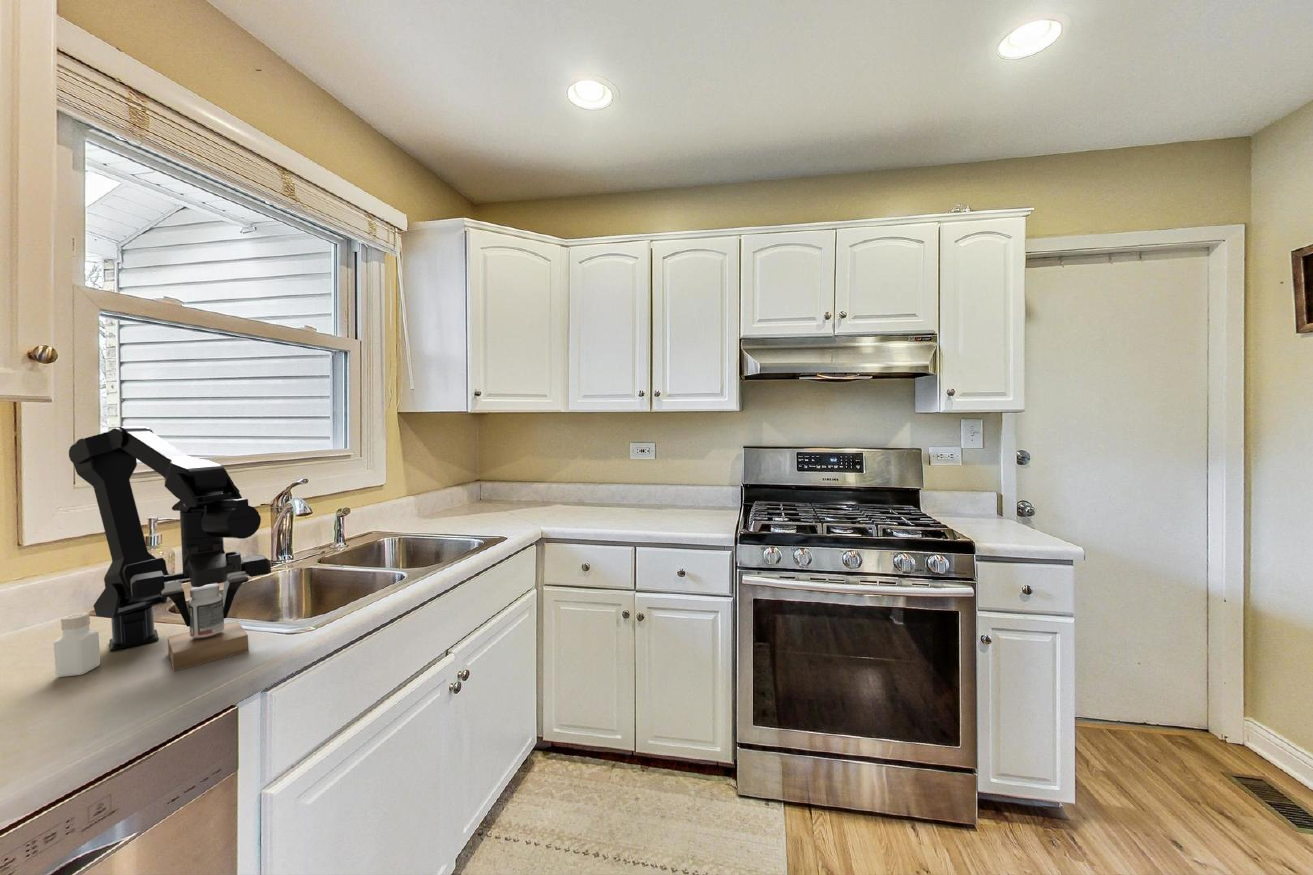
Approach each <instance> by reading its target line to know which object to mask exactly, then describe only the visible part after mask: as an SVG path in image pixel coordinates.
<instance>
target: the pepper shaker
mask: <svg viewBox="0 0 1313 875" xmlns="http://www.w3.org/2000/svg"><path fill="white" fill-rule="evenodd" d="M90 620H91V618H90V613H89V612H77V613H72V614H68V615H65V616H62V617H61V618H60V622H61V624H60V625H61V631H62V636H59V637H58V638H57V639H55V641H53V653H54V667H55V668H54V669H55V676H56V677H57V678H62V677H63V678H64V677H73V676H74V677H75V676H81V675H85V674H87V673H88V672H90V671H92V670H94V669H96V668H97V667H99V666H100V664H101V651H100V648H101V647H100V634H99V631H97V630H92V629H90V624H91V621H90Z"/></svg>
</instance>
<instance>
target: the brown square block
mask: <svg viewBox="0 0 1313 875" xmlns="http://www.w3.org/2000/svg"><path fill="white" fill-rule="evenodd" d="M167 647H168V648H167V650H168V655H169V659H170V662H171V666H172V670H173V671H174V672H176V671H180V670H183V669H187V668H191V667H195V666H200V665H203V664H206V663H210V662H214V661H218V660H222V659H225V658H229V657H233V656H237V655H241V654H244V653H249V650H250V649H249V635H248V634H247V632H246V631H245V629H244V628H243V627H242V625H241V624H240V622H239V620H237V621H232V622H228V623H224V630H223V631H222V632H220V633H218V634H215V635H212V636H208V637H203V638H193V637H191V636H190V631H189V632H184V633H178V634H175V635H172V636H167Z"/></svg>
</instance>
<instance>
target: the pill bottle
mask: <svg viewBox="0 0 1313 875" xmlns="http://www.w3.org/2000/svg"><path fill="white" fill-rule="evenodd" d="M189 597H190V600H188V604H187V608H188V613H189V617H190V626H189V632H190V636H191V637H193V638H203V637H208V636H212V635H215V634H218V633H220V632H222V631H223V630H224V624H225V620H224V614H223V594H220V585H219V584H218V583H213V584H208V585H204V586H202V587H192V588H190V589H189Z"/></svg>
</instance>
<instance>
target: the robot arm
mask: <svg viewBox="0 0 1313 875" xmlns="http://www.w3.org/2000/svg"><path fill="white" fill-rule="evenodd" d="M68 458H69V461H70V462H71V463H72V464H73V467H74V470H75V471H76V474H77V476H79V478H81V479H83V480H84V481H85V482H87V483H88V484H90V486H92V488H93V490H94V495H95V498H96V502H97V506H98V510H99V513H100V517H101V523H102V526H103V530H104V533H105V536H106V541H107V545H108V550H109V553H110V557H111V564H110V565H109V567H108V569H107V571H106V574H105V575H104V577H103V582H104V590H102V592H101V594H100V596H99V597H98V598H97V599H96V601H95V603H94V604H93V609H94V613H95V616H96V617H100V618H108V619H111V636H112V637H111V638H110V639H109V651H110V652H112V651H119V650H121V649H127V648H130V647H134V646H135V647H136V646H139V645H143V644H148V643H151V642H156V641H159V640H160V638H159V637H160V636H159V634H158V631H157V630H158V629H155V618H154V617H155V615H154V606H158V605H161V604H166V603H167V601H168V598H169V599H170V600H171V601H172V602H173V604H174V605H175V607H176V608H177V609H178V611H179V613H180V616H181V617H182V620H183V621H184V623H185V626H186V628H188V627H189V628H190V617H189V608H188V604H187V600H186V595H185V590H184V589H183V587H182V585H183V584H186V583H190V585H191V587H192V588H194V587H202V586H204V585H208V584H218V585H219V584H223V588H222V590H223V591H222V597H223V614H224V619H227V618H228V616H229V612H230V609H231V606H232V604H233V600H234V598H235V596H236V594H237V592H238V590H239V588H240V587H241V586H242V584H245V583H248V582H249V580H250V578H249V577H251V578H253V577H259V576H265V575H270V574H272V566H271V560H270V559H268V558H267V557H266V556H265V555H263V554H258V555H257V554H256V555H252V556H245V557H242V554H241V551H240V550H233V551H228V552H225V545H224V544H225V543H224V538H225V539H237V540H238V539H243V540H244V539H248V538H249V537H252V536H253V535H254V534H256V532H257V531H258V530H259V528H260V526H261V522H262V521H261V520H262V518H261V515H260V514H259V510H257V509H256V508H255V507H253V506H251V505H249V499H248V498H243V497H242V495H241V493H240V489H238V487H237V486H236V485H235V483H234V482H233V480H232V478H231V476H230V475H229V473H228V472H227V470H226V469H225V468H224V466H223V465H222V464H221V465H220V464H219V463H216V462H213V461H212V460H208V459H202V458H196V457H193V456H189V455H188V454H186V453H184V452H183V451H182V450H180V449H178V448H177V447H175V446H174V445H172V444H170V443H169V442H167V441H166V440H164V439H163V438H161V437H159V436H158V435H157V434H155V433H154V431H153V430H152V429H151V428H150V427H146V426H142V425H141V426H139V425H137V426H118V427H116V428H112V429H110V430H108V431H106V432H102V433H99V434H96V435H92V436H89V437H83V438H80V439H78V440H76V442H75V443H74V444H72V445H71V446H70V447H69V450H68ZM137 461H139V462H141V463H143V464H144V465H146V466H147V467H149V468H150V469H152V470H153V471H154V472H156V473H158V475H161V476H162V477H163V478H164V488H166V489H167V490H168V491H169V492H170V493H171V494H172V495H173V496H174V497H175V498H176V499H177V500H179V501H177V502H176V503H175V504H174V505H173V506H171V510H172V511H176V512H177V511H178V512H179V519H180V520H179V523H180V541H181V545H180V546H181V561H182V562H181V563H182V572H178V573H171V574H170V573H169V572H168V568H167V562H166V560H165V559H164V558H163V557H158V558H157V557H156V556H154V555H153V554H151V553H150V552H149V549H148V546H147V542H146V538H145V535H144V532H143V531H144V530H143V527H142V523H141V519H140V516H139V512H138V507H137V503H136V500H135V496H134V493H133V489H132V484H131V477H132V475H133V473H134V471H135V470H136V468H137V465H138V462H137ZM248 576H249V577H248Z"/></svg>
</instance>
